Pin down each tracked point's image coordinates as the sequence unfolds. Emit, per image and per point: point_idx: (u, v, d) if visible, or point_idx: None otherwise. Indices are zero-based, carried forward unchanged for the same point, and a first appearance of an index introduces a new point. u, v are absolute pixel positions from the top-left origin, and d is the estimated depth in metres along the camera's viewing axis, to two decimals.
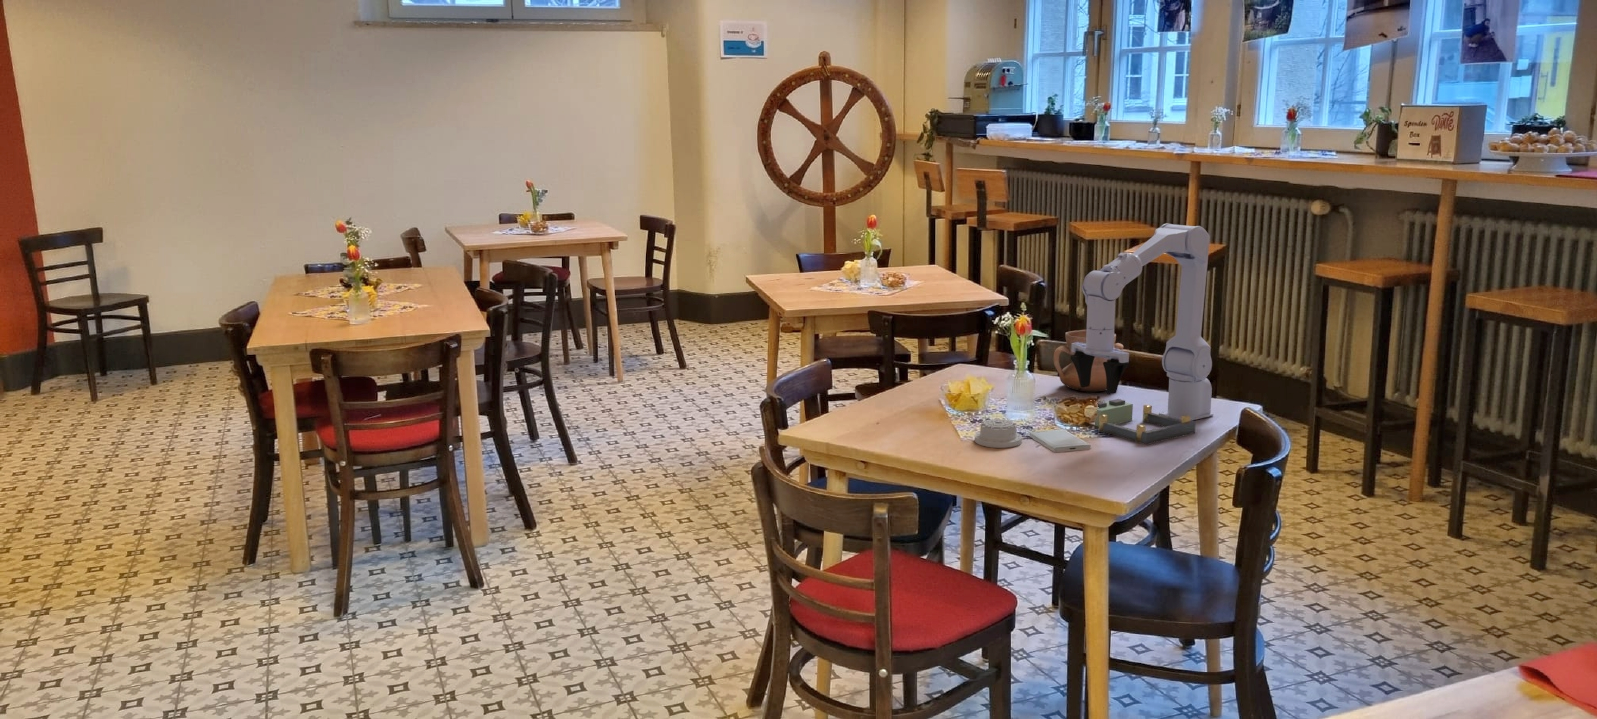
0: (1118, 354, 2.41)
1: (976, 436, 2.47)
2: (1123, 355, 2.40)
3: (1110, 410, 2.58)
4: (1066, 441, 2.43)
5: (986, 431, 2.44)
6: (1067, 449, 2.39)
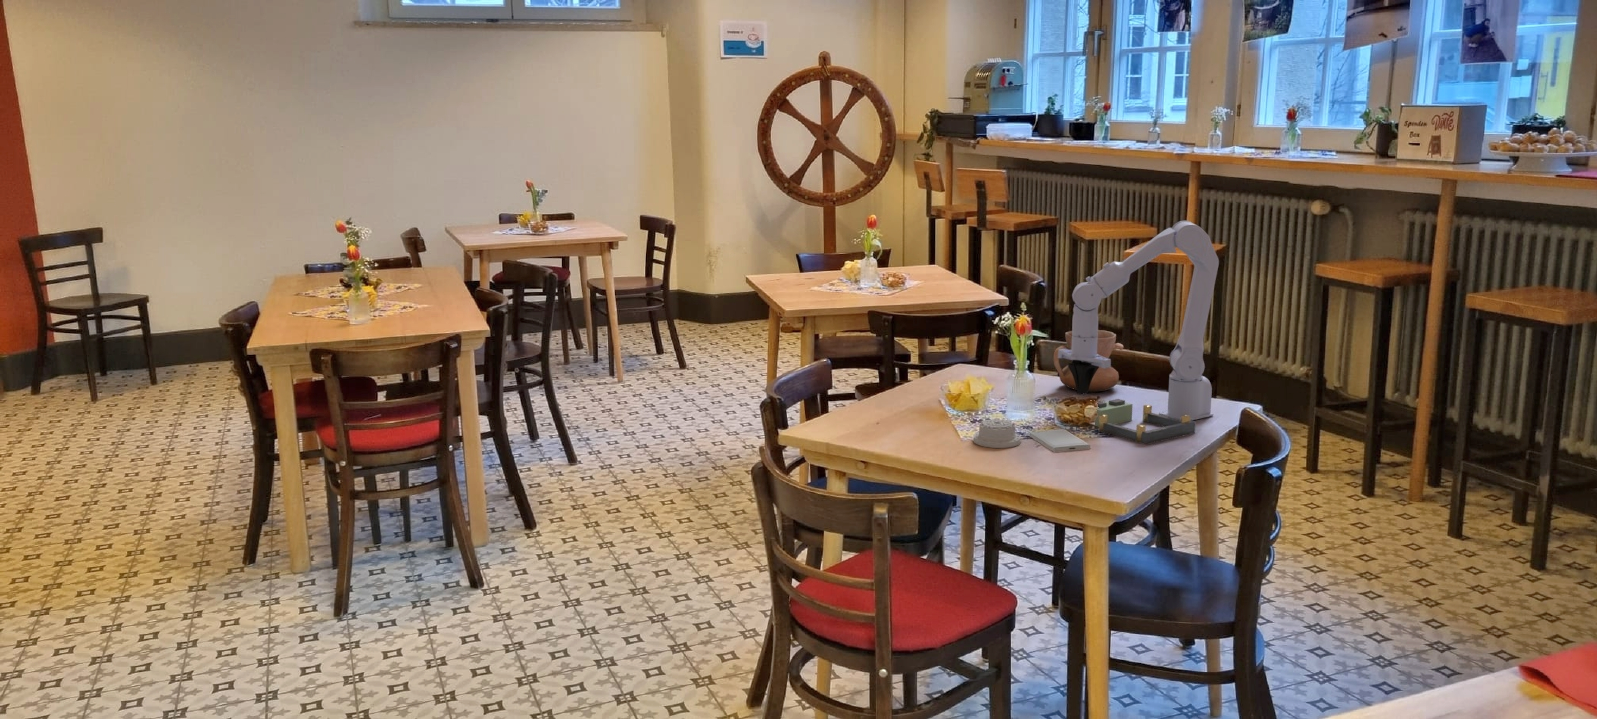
0: (1101, 360, 2.60)
1: (975, 436, 2.47)
2: (1105, 361, 2.59)
3: (1110, 410, 2.58)
4: (1065, 440, 2.43)
5: (984, 432, 2.44)
6: (1067, 449, 2.40)
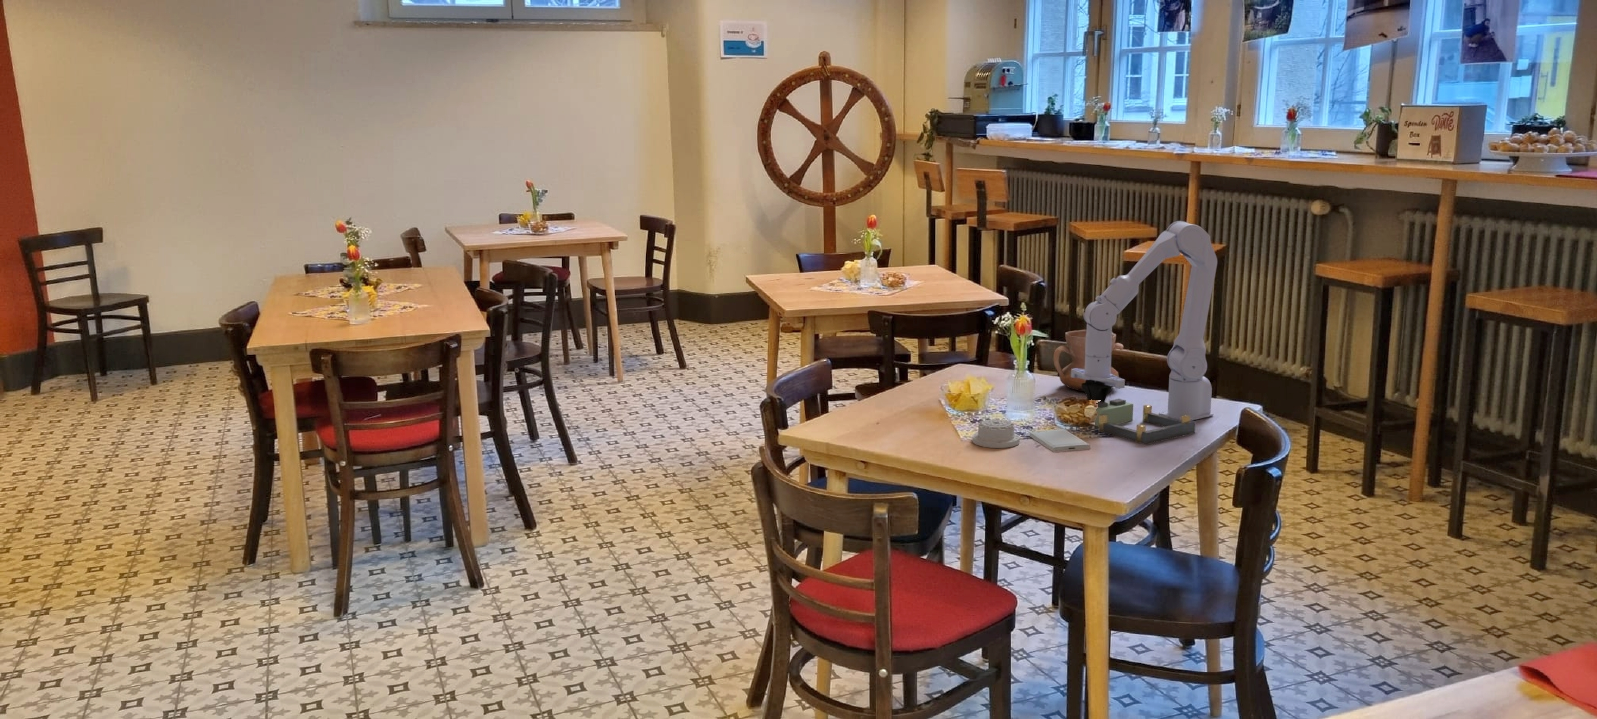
0: (1114, 380, 2.57)
1: (974, 436, 2.47)
2: (1119, 381, 2.56)
3: (1111, 410, 2.57)
4: (1065, 440, 2.43)
5: (983, 432, 2.44)
6: (1066, 449, 2.40)
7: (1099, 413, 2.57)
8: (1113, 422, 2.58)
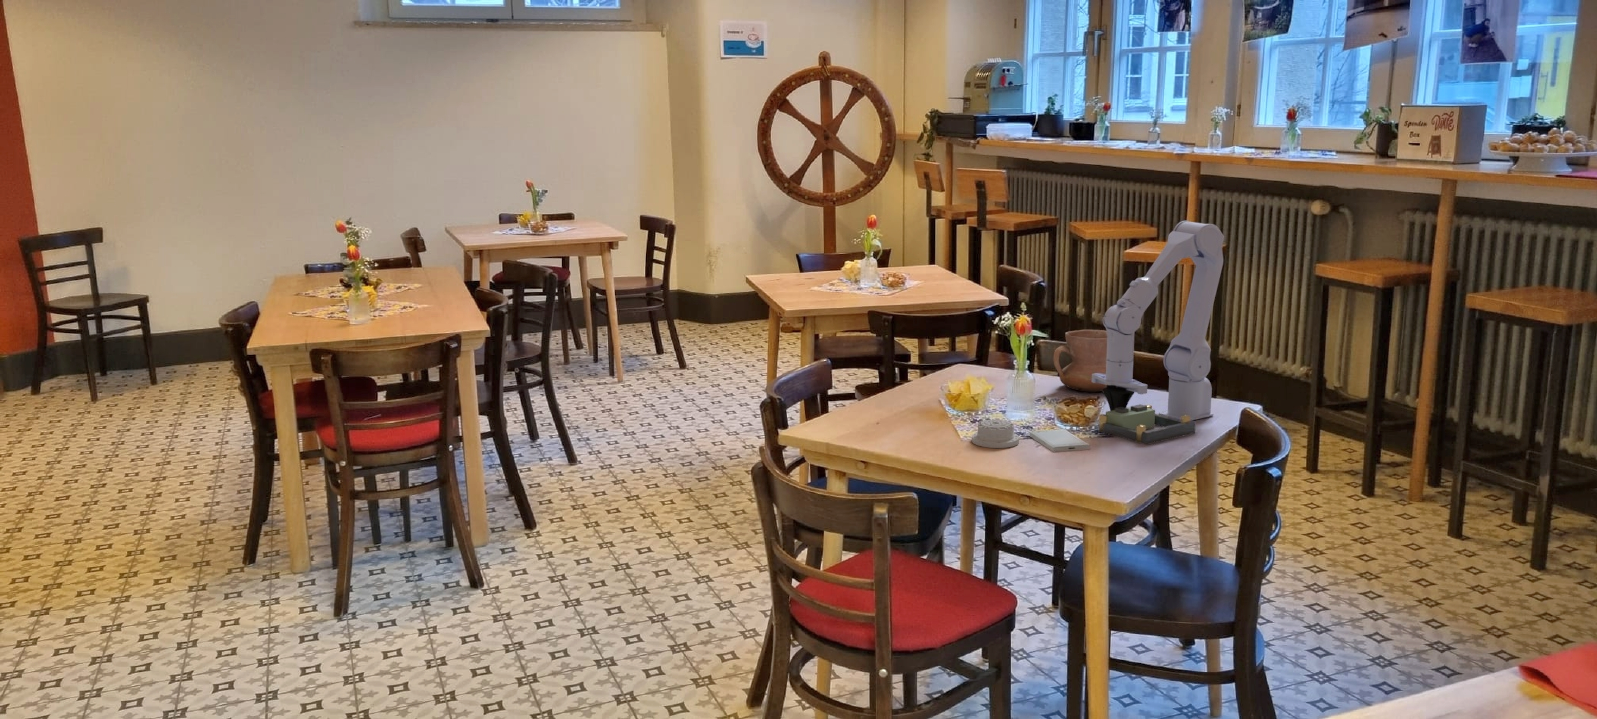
0: (1137, 386, 2.52)
1: (973, 436, 2.47)
2: (1142, 387, 2.51)
3: (1132, 416, 2.52)
4: (1065, 440, 2.43)
5: (983, 432, 2.44)
6: (1066, 449, 2.40)
7: (1119, 419, 2.51)
8: (1134, 428, 2.53)
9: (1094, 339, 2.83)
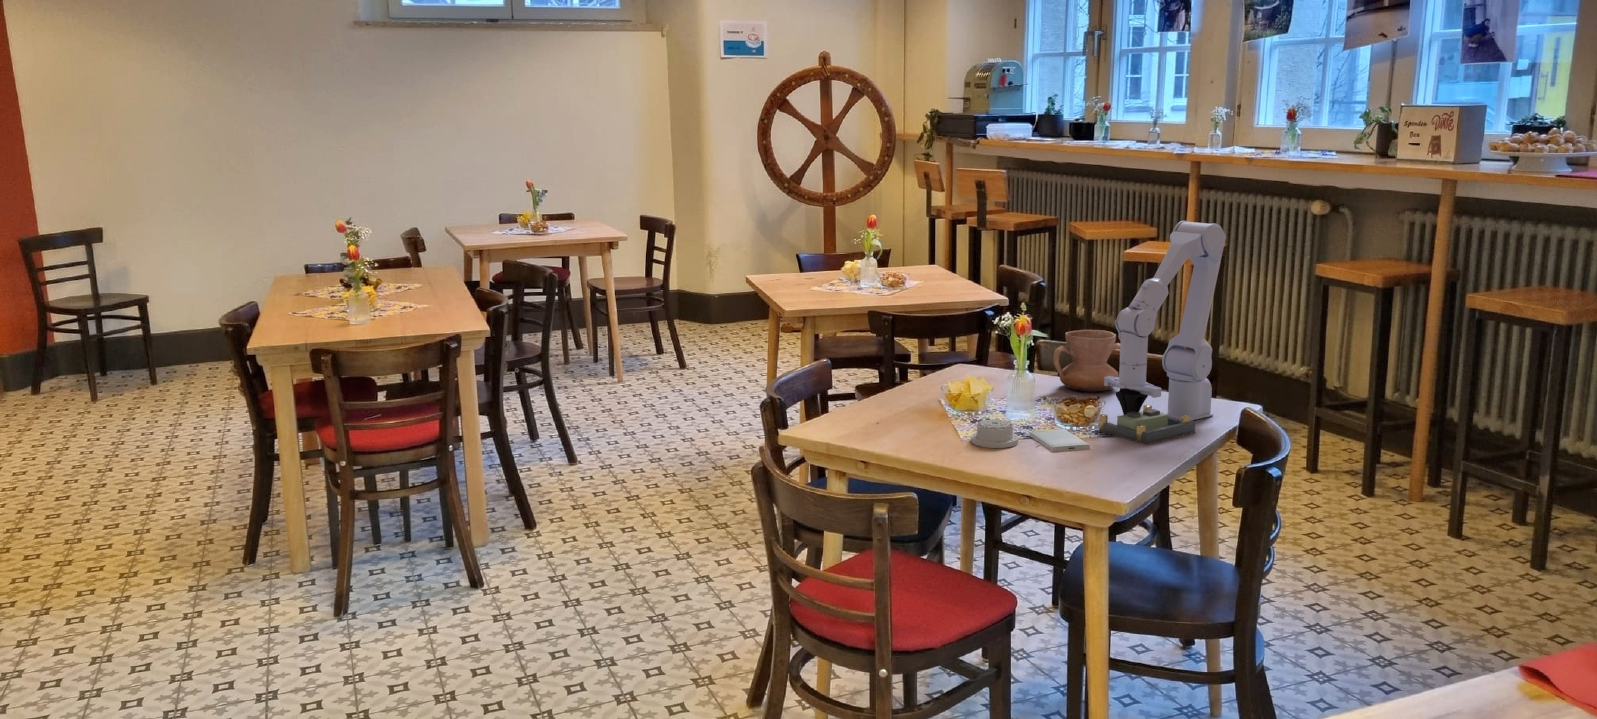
0: (1151, 389, 2.48)
1: (973, 436, 2.47)
2: (1156, 390, 2.48)
3: (1144, 421, 2.49)
4: (1065, 440, 2.43)
5: (982, 432, 2.44)
6: (1066, 449, 2.40)
7: (1131, 424, 2.48)
8: None
9: (1094, 339, 2.83)
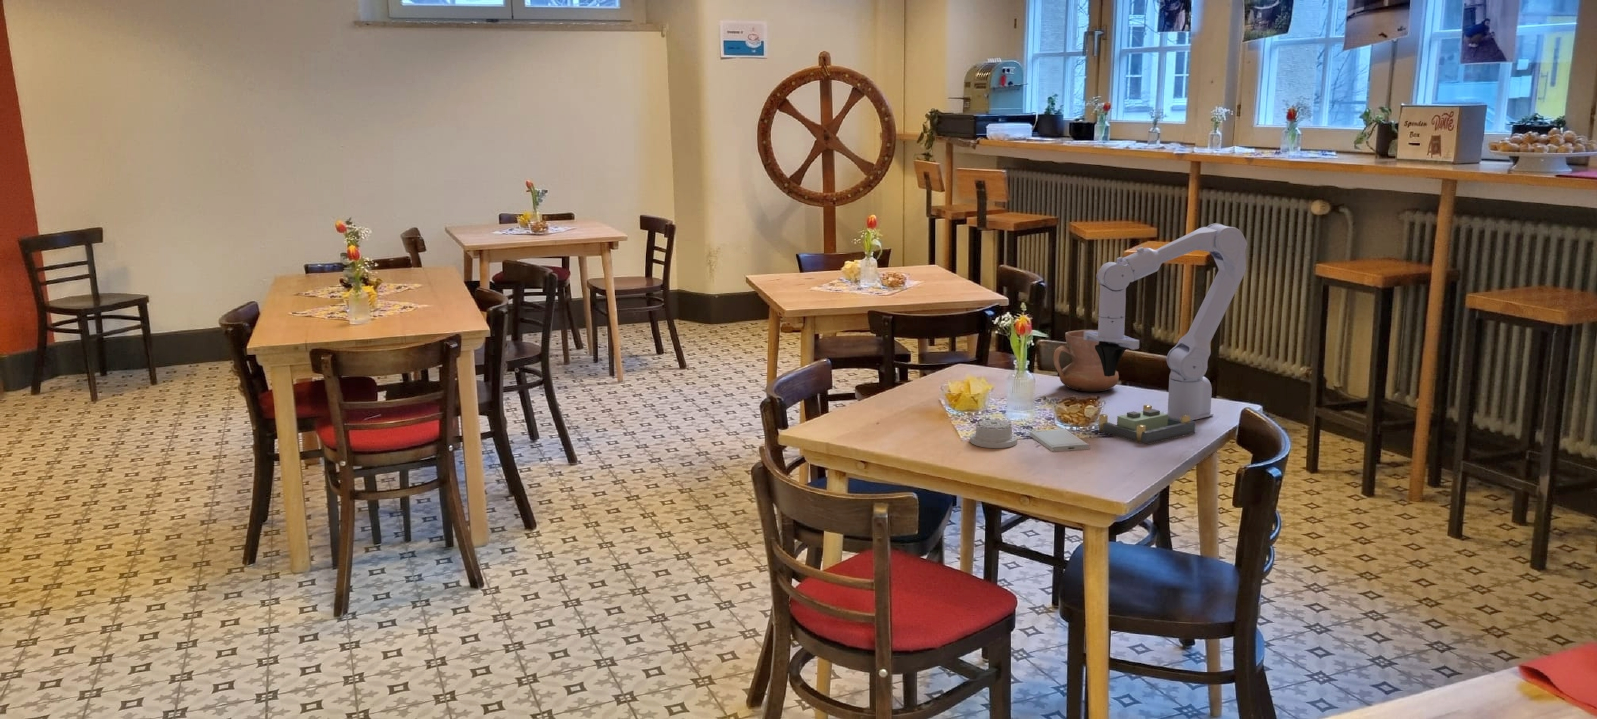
0: (1129, 341, 2.55)
1: (972, 436, 2.47)
2: (1134, 342, 2.54)
3: (1144, 421, 2.49)
4: (1065, 440, 2.43)
5: (981, 432, 2.44)
6: (1065, 449, 2.40)
7: (1131, 424, 2.48)
8: None
9: None
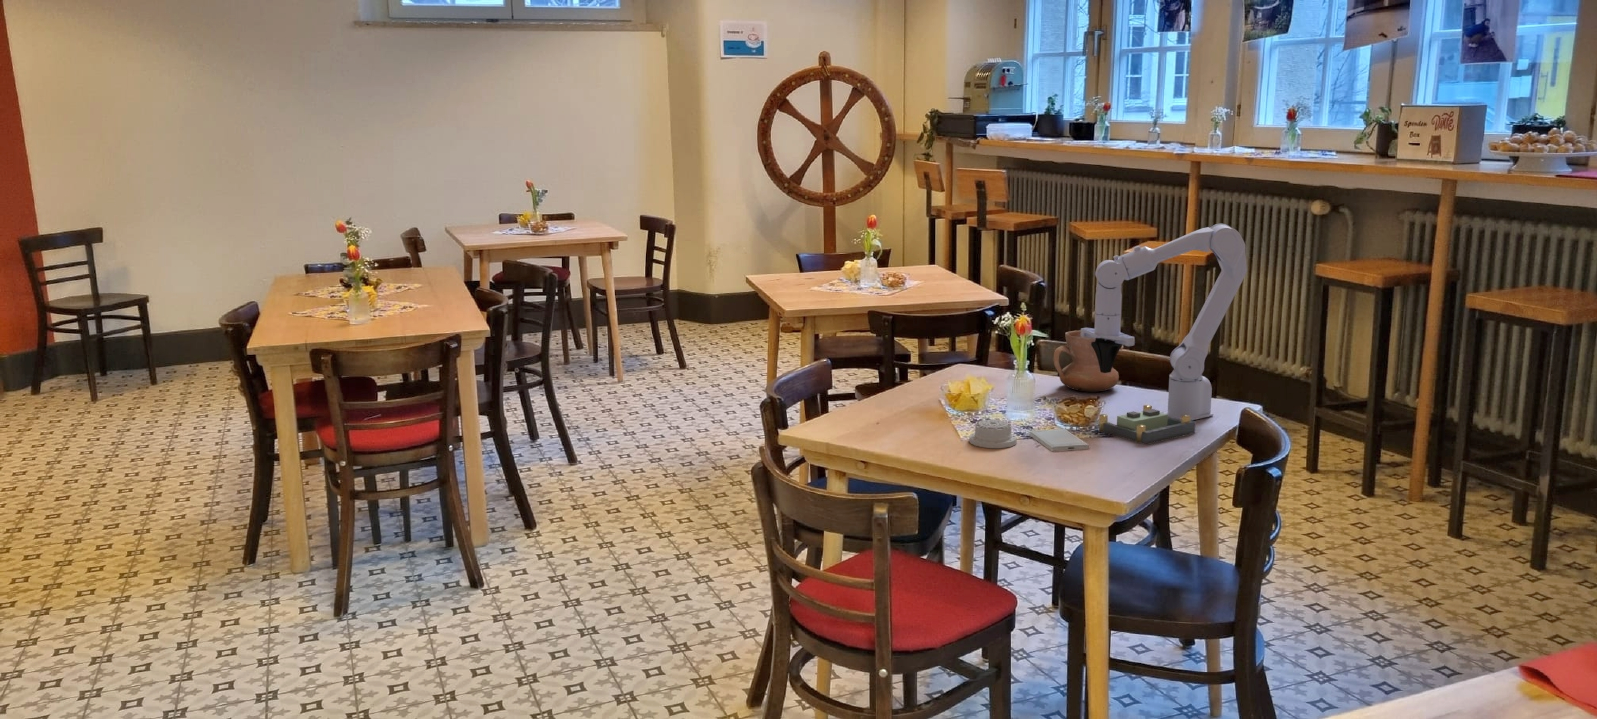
0: (1124, 338, 2.58)
1: (971, 436, 2.47)
2: (1129, 339, 2.57)
3: (1144, 421, 2.49)
4: (1065, 440, 2.43)
5: (980, 432, 2.44)
6: (1065, 449, 2.40)
7: (1131, 424, 2.48)
8: None
9: (1094, 339, 2.83)
